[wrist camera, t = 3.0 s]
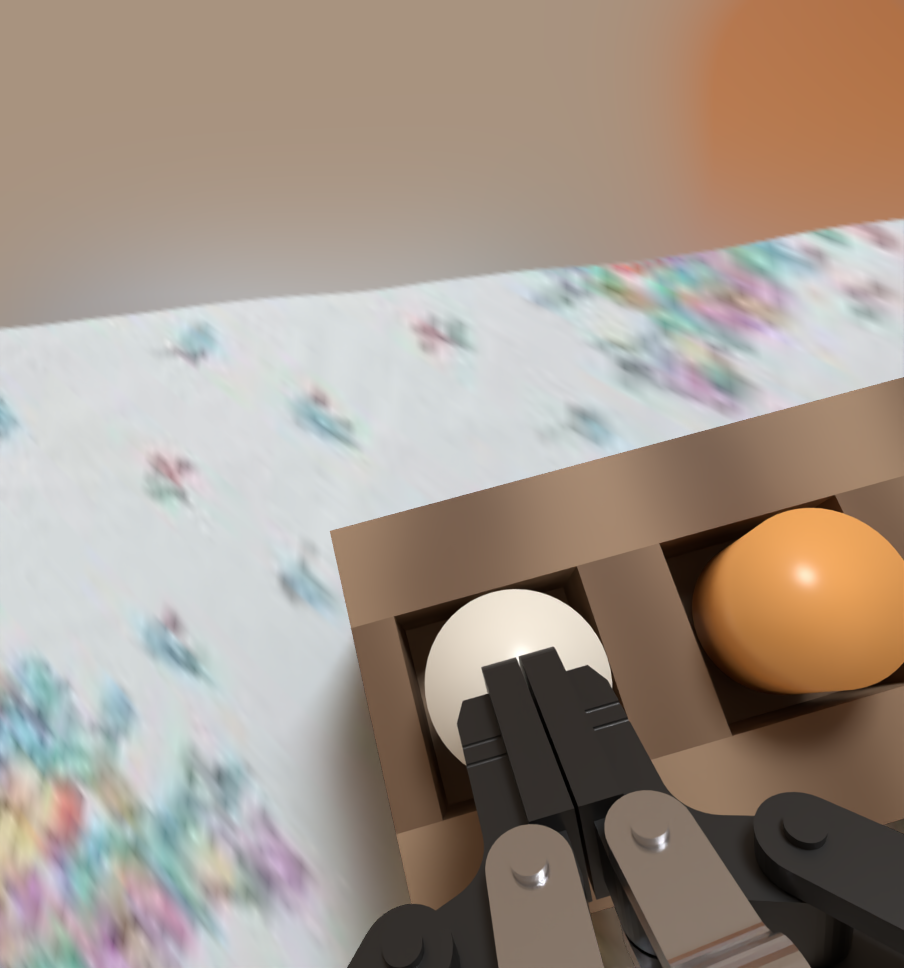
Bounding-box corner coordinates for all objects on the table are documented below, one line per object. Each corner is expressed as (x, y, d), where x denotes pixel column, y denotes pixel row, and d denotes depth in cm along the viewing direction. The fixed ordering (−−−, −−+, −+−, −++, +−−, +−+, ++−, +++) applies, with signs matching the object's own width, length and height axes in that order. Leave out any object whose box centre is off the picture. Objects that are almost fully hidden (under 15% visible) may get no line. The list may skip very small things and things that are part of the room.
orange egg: (809, 523, 19) (869, 488, 16) (876, 670, 17) (954, 661, 15) (669, 562, 19) (703, 533, 16) (727, 714, 17) (776, 713, 14)
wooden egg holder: (886, 452, 28) (1067, 333, 19) (1016, 705, 24) (1303, 697, 16) (377, 591, 27) (330, 530, 18) (444, 875, 23) (424, 964, 15)
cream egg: (562, 592, 18) (577, 568, 16) (612, 747, 17) (639, 753, 14) (416, 632, 18) (405, 616, 15) (456, 793, 17) (452, 807, 14)
